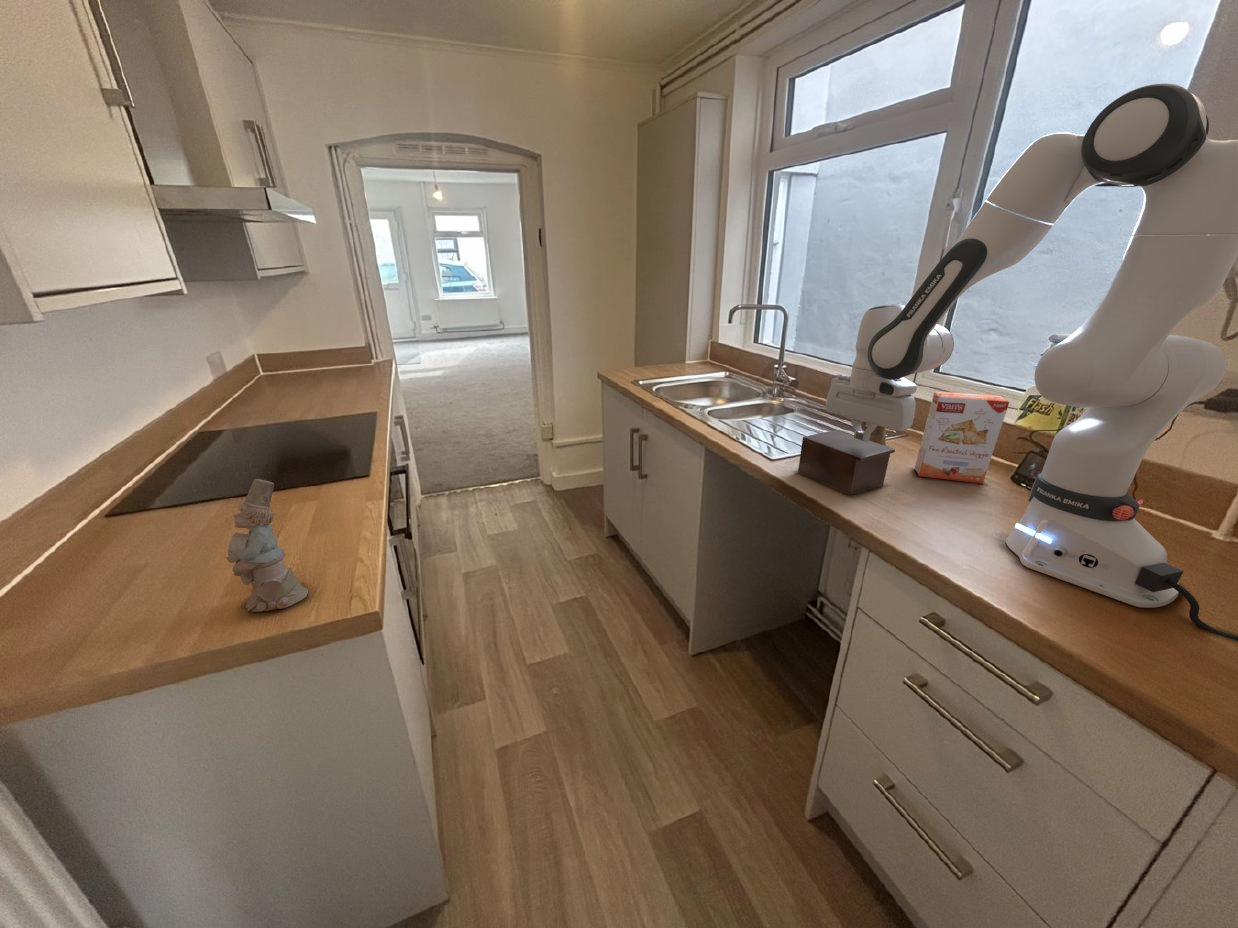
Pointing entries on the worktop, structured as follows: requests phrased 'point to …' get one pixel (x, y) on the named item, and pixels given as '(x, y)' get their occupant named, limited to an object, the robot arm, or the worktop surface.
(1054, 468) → the robot arm
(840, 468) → the chest
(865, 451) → the lid
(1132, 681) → the worktop surface
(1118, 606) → the worktop surface
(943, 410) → the cracker box
